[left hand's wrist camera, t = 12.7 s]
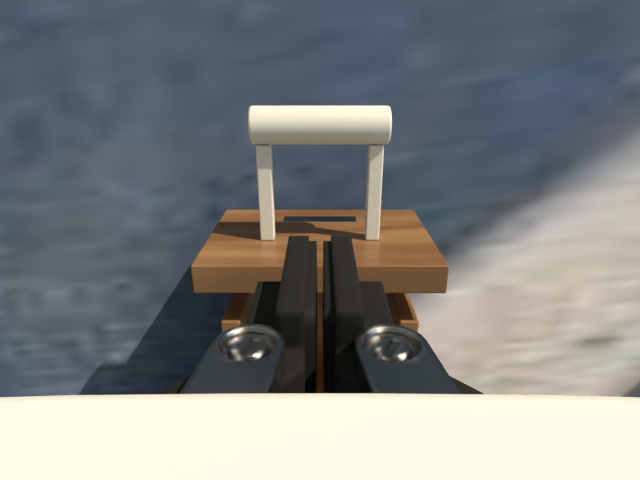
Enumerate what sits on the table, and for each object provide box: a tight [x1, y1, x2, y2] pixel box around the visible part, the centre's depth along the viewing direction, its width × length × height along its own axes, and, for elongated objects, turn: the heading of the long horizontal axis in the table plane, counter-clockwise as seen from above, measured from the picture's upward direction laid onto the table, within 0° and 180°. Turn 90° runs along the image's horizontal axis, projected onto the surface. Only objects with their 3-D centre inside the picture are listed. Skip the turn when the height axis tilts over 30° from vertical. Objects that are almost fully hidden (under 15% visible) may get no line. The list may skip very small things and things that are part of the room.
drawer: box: [191, 106, 449, 393], centre depth 22 cm, size 21×10×7 cm, turn 0°
